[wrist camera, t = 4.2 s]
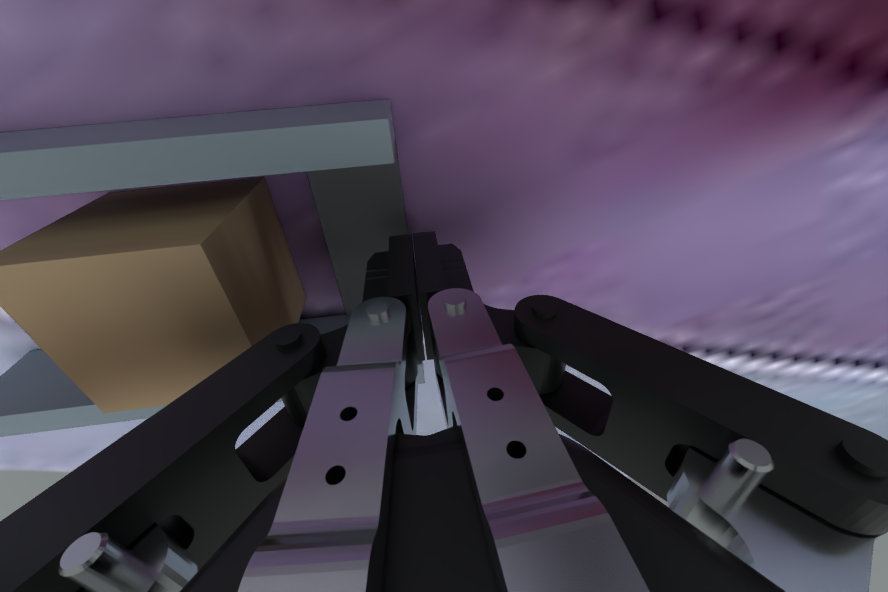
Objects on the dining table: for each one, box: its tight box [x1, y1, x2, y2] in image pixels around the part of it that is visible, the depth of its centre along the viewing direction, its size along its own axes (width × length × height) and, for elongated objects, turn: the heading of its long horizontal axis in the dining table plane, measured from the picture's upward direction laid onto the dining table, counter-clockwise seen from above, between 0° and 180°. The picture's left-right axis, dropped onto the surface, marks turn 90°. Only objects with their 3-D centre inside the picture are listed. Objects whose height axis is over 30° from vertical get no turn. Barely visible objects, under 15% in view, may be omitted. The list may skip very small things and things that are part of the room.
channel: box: [0, 99, 425, 437], centre depth 12 cm, size 9×16×4 cm, turn 94°
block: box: [0, 177, 306, 413], centre depth 12 cm, size 5×5×5 cm
